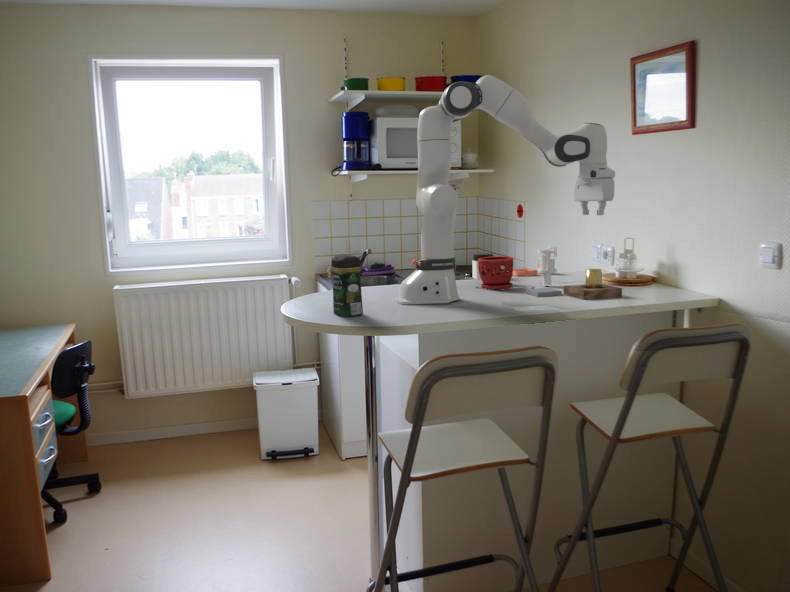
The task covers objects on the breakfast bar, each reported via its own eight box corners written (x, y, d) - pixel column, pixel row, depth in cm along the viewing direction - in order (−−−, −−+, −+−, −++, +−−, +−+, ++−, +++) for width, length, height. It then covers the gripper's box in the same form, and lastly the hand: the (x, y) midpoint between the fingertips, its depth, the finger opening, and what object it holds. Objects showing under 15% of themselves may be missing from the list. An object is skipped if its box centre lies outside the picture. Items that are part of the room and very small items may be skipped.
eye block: (583, 299, 222) (583, 290, 221) (563, 294, 235) (563, 285, 235) (621, 297, 225) (622, 288, 225) (599, 291, 238) (600, 283, 238)
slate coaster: (537, 296, 231) (537, 292, 231) (526, 293, 240) (526, 289, 240) (561, 295, 234) (561, 290, 233) (549, 291, 242) (549, 287, 242)
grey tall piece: (558, 287, 253) (558, 247, 251) (539, 288, 253) (539, 248, 251) (554, 285, 260) (554, 246, 258) (536, 285, 260) (536, 246, 258)
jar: (485, 285, 266) (484, 255, 264) (468, 283, 271) (468, 254, 270) (498, 282, 272) (498, 253, 270) (482, 281, 278) (481, 252, 276)
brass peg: (590, 297, 227) (590, 270, 226) (582, 295, 232) (583, 269, 231) (604, 296, 228) (604, 269, 227) (596, 294, 233) (597, 268, 232)
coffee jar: (329, 314, 209) (327, 254, 206) (353, 311, 212) (350, 252, 210) (342, 319, 200) (340, 256, 197) (366, 316, 204) (364, 254, 201)
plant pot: (496, 285, 263) (495, 255, 261) (520, 289, 252) (520, 257, 251) (471, 289, 255) (470, 257, 254) (495, 292, 245) (495, 259, 243)
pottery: (516, 281, 275) (516, 257, 273) (507, 279, 284) (507, 256, 282) (556, 279, 279) (557, 255, 278) (546, 276, 288) (546, 253, 287)
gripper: (569, 174, 234) (569, 215, 236) (600, 172, 214) (600, 216, 216) (586, 174, 235) (585, 214, 237) (618, 171, 215) (617, 215, 217)
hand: (592, 215), depth 226 cm, fingers open, 8 cm apart
